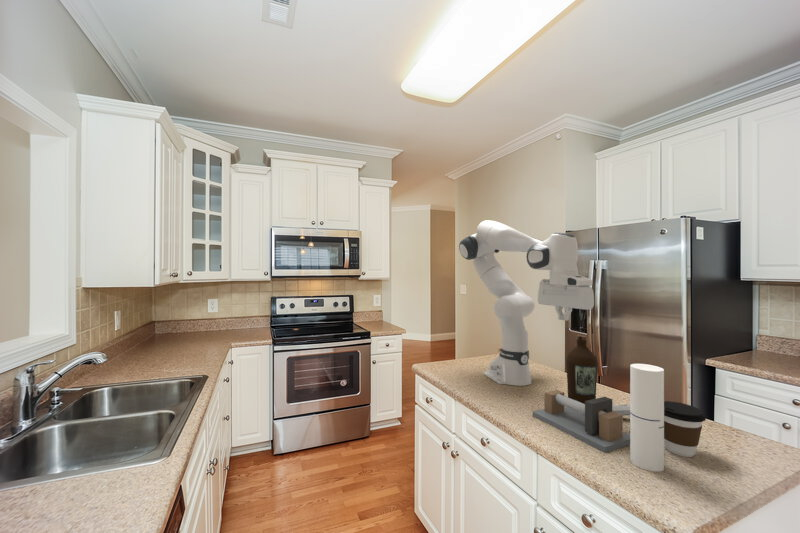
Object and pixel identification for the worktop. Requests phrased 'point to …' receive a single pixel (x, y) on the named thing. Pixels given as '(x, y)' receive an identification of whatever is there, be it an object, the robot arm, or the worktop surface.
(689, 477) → the worktop surface
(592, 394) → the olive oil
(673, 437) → the coffee cup
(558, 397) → the pipe stand
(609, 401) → the collar
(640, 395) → the cylindrical container
